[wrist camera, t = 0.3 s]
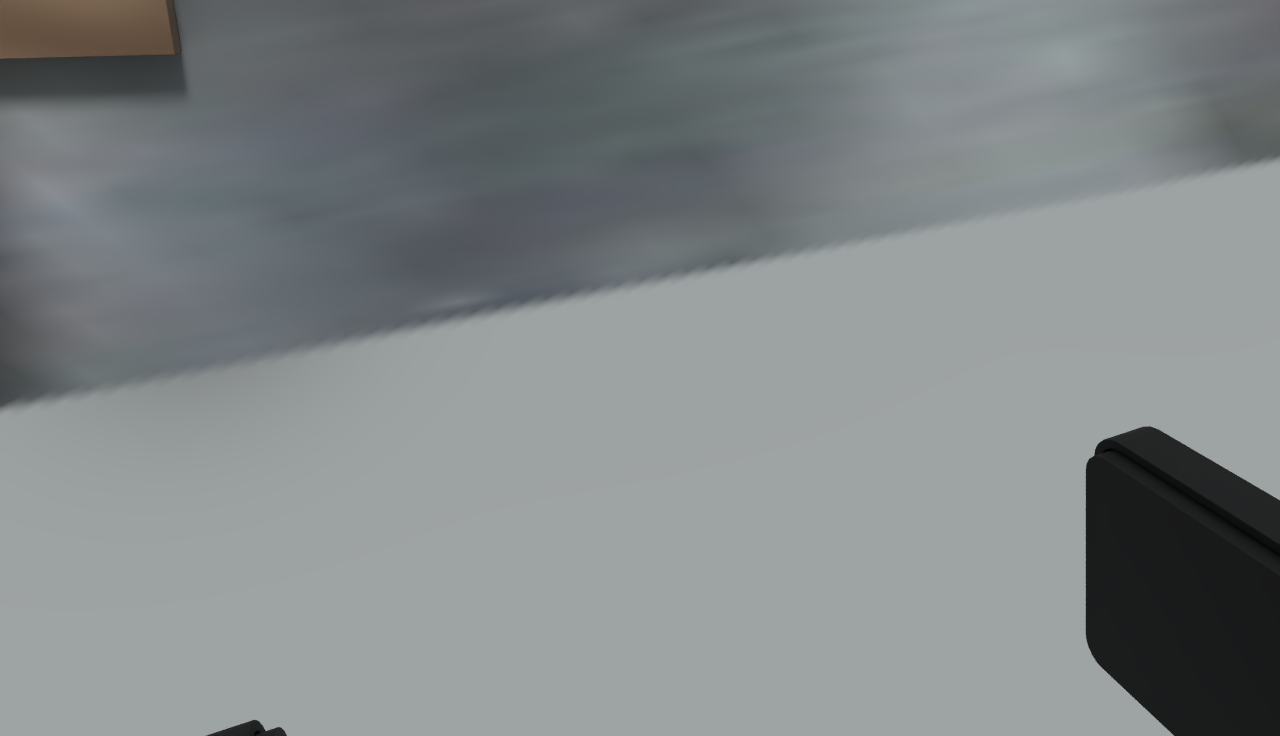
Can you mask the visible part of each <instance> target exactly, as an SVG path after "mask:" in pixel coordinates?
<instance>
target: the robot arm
mask: <svg viewBox="0 0 1280 736" xmlns="http://www.w3.org/2000/svg"><path fill="white" fill-rule="evenodd" d="M1086 639H1087V643H1088V646H1089V649H1090V651H1091V653H1092V655H1093V657H1094V658H1095V660H1096V661H1097V663H1098V664H1099V665H1100V666H1101V667H1102V668H1103V669H1104V670H1105V671H1106V672H1107V673H1108V674H1110V676H1111V677H1113V679H1115V680H1116V681H1117V682H1118V683H1119V684H1120V685H1121V686H1122V687H1123V688H1124V689H1125V690H1126V691H1127V692H1128V693H1129V694H1130V695H1132V696H1133V697H1134V698H1135V699H1136V700H1137V701H1138V702H1139V703H1140V704H1141V705H1142V706H1143V707H1144V708H1145V709H1147V710H1148V711H1149V712H1150V713H1151V714H1152V715H1153V716H1154V717H1155V718H1156V719H1157V720H1158V721H1159V722H1160V723H1161V724H1162V725H1163V726H1165V727H1166V728H1167V729H1168V730H1169V731H1170V732H1171V733H1172V734H1173V735H1174V736H1280V500H1278V499H1276V498H1275V497H1273V496H1271V495H1270V494H1268V493H1266V492H1264V491H1263V490H1261V489H1259V488H1258V487H1256V486H1254V485H1252V484H1251V483H1249V482H1247V481H1246V480H1244V479H1242V478H1240V477H1239V476H1237V475H1235V474H1233V473H1232V472H1230V471H1228V470H1227V469H1225V468H1223V467H1222V466H1220V465H1218V464H1216V463H1215V462H1213V461H1211V460H1210V459H1208V458H1206V457H1204V456H1203V455H1201V454H1199V453H1198V452H1196V451H1194V450H1192V449H1191V448H1189V447H1187V446H1186V445H1184V444H1182V443H1181V442H1179V441H1177V440H1175V439H1173V438H1172V437H1170V436H1169V435H1167V434H1165V433H1163V432H1162V431H1160V430H1158V429H1155V428H1153V427H1141V428H1138V429H1135V430H1132V431H1129V432H1127V433H1123V434H1120V435H1117V436H1114V437H1111V438H1108V439H1105V440H1103V441H1101V442H1100V443H1099V444H1098V445H1097V447H1096V449H1095V455H1094V456H1093V457H1092V458H1090V459H1089V460H1088V463H1087V466H1086ZM208 736H287V735H286V733H285V731H284V730H283V729H282V728H280V727H278V728H275V729H272V730H268V731H265V729H264V727H263V726H262V725H261V723H260V722H259V721H257V720H252V721H250V722H247V723H244V724H240V725H237V726H234V727H231V728H228V729H225V730H222V731H219V732H216V733H213V734H210V735H208Z"/></svg>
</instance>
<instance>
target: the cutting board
mask: <svg viewBox="0 0 1280 736" xmlns="http://www.w3.org/2000/svg"><path fill="white" fill-rule="evenodd" d="M179 51H181V45H180V39H179V33H178V27H177V21H176V15H175V9H174V3H173V0H0V59H2V58H43V57H85V56H126V55H168V54H176V53H178V52H179Z"/></svg>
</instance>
